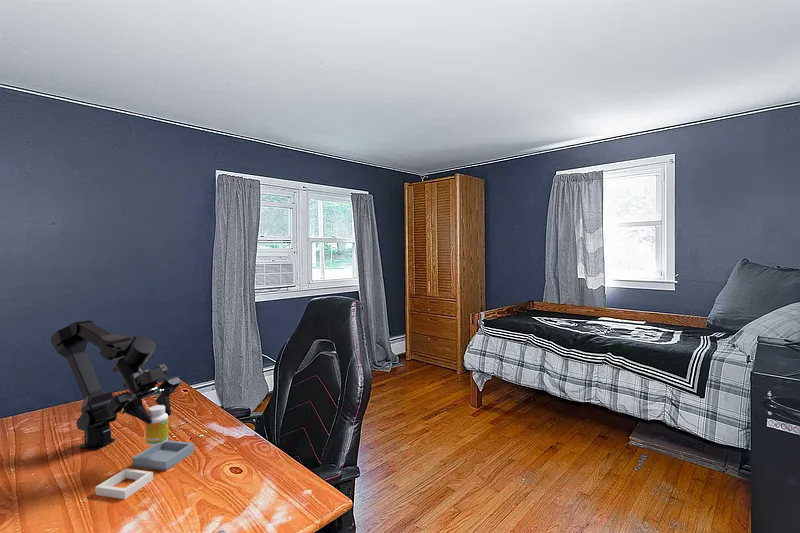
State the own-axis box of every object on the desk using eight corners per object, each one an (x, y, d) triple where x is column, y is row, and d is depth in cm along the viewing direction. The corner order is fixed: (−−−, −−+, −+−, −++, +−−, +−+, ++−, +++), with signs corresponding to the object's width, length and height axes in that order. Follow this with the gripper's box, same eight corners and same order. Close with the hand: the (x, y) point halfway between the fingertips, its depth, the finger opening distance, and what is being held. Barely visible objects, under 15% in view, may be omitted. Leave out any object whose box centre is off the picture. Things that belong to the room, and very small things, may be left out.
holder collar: (95, 494, 100) (95, 486, 100) (126, 475, 109) (125, 468, 109) (124, 499, 99) (124, 491, 98) (153, 479, 107) (153, 472, 107)
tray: (132, 466, 113) (132, 457, 113) (163, 447, 124) (163, 439, 124) (166, 471, 111) (166, 462, 111) (194, 451, 122) (194, 443, 122)
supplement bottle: (163, 445, 112) (162, 411, 112) (142, 446, 111) (141, 411, 111) (171, 436, 117) (171, 403, 117) (151, 437, 117) (151, 404, 116)
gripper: (111, 366, 106) (140, 415, 102) (176, 350, 123) (203, 391, 119) (94, 391, 110) (121, 439, 106) (159, 371, 127) (184, 412, 123)
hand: (160, 419), depth 113 cm, fingers closed on supplement bottle, 5 cm apart
